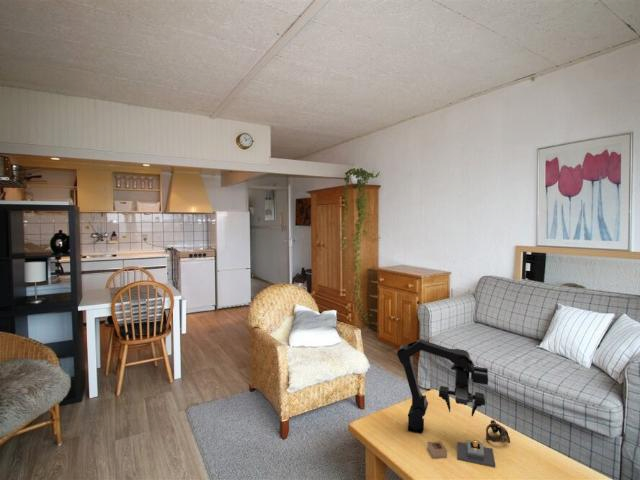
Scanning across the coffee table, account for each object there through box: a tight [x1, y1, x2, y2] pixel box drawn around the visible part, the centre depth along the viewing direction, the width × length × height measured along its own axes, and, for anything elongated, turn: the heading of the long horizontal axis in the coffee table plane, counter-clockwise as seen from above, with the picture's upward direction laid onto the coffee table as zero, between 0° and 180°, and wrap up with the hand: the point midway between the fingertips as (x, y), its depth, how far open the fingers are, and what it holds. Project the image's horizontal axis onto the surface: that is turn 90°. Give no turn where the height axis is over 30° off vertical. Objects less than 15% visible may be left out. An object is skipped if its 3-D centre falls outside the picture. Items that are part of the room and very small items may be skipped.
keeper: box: [456, 439, 496, 468], centre depth 147 cm, size 14×10×6 cm
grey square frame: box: [466, 439, 484, 459], centre depth 147 cm, size 6×6×3 cm
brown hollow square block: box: [426, 440, 448, 459], centre depth 149 cm, size 6×6×3 cm
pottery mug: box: [485, 419, 511, 443], centre depth 157 cm, size 12×10×8 cm
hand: (460, 413), depth 157 cm, fingers open, 9 cm apart
